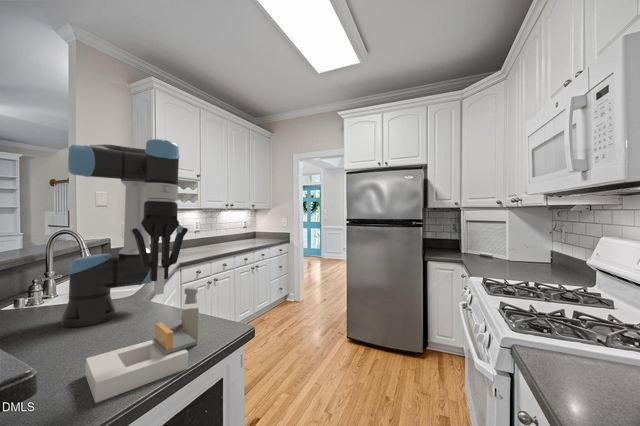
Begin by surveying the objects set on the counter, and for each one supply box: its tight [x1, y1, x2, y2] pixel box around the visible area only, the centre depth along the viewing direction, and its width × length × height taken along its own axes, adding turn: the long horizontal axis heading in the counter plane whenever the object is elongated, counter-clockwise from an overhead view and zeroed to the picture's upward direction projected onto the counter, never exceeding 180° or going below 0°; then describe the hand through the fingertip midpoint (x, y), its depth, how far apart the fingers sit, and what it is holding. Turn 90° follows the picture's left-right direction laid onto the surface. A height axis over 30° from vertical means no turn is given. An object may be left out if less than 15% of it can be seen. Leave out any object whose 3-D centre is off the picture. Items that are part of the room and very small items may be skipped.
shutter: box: [152, 321, 196, 354], centre depth 72 cm, size 9×8×5 cm
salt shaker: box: [180, 285, 200, 320], centre depth 97 cm, size 6×6×13 cm
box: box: [181, 302, 200, 347], centre depth 82 cm, size 5×4×11 cm
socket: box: [85, 339, 189, 404], centre depth 66 cm, size 14×18×4 cm
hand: (158, 292), depth 70 cm, fingers closed
